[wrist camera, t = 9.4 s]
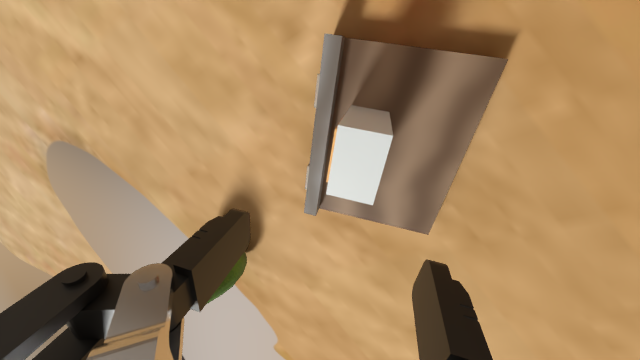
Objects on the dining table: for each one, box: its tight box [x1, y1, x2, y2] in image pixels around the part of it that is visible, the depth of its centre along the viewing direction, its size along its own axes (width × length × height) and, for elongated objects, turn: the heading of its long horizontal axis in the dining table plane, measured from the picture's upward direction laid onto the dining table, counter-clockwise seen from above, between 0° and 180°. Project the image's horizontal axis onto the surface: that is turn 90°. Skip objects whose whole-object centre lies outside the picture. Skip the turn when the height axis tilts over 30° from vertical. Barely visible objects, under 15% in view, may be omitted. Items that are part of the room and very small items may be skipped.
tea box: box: [326, 105, 393, 205], centre depth 22 cm, size 6×4×9 cm
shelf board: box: [304, 34, 508, 235], centre depth 26 cm, size 16×20×4 cm
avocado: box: [206, 252, 247, 304], centre depth 37 cm, size 8×8×12 cm
